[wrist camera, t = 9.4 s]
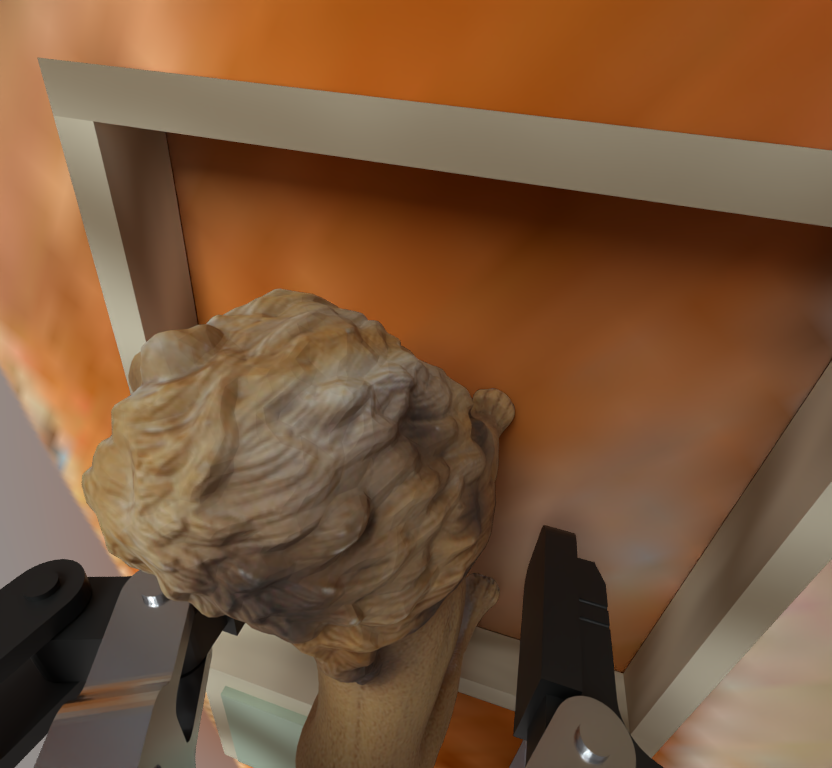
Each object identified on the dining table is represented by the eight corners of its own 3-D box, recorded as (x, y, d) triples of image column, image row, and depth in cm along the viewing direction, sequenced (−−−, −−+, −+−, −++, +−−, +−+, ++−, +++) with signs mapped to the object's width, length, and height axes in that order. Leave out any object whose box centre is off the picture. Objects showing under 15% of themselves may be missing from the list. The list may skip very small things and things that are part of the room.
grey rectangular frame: (118, 67, 11) (-104, 40, 7) (1031, 174, 8) (1457, 224, 4) (237, 653, 24) (182, 746, 21) (579, 778, 21) (584, 912, 18)
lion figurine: (325, 269, 13) (-111, 338, 5) (519, 253, 11) (378, 317, 3) (383, 671, 17) (213, 1076, 9) (529, 705, 15) (485, 1243, 7)
